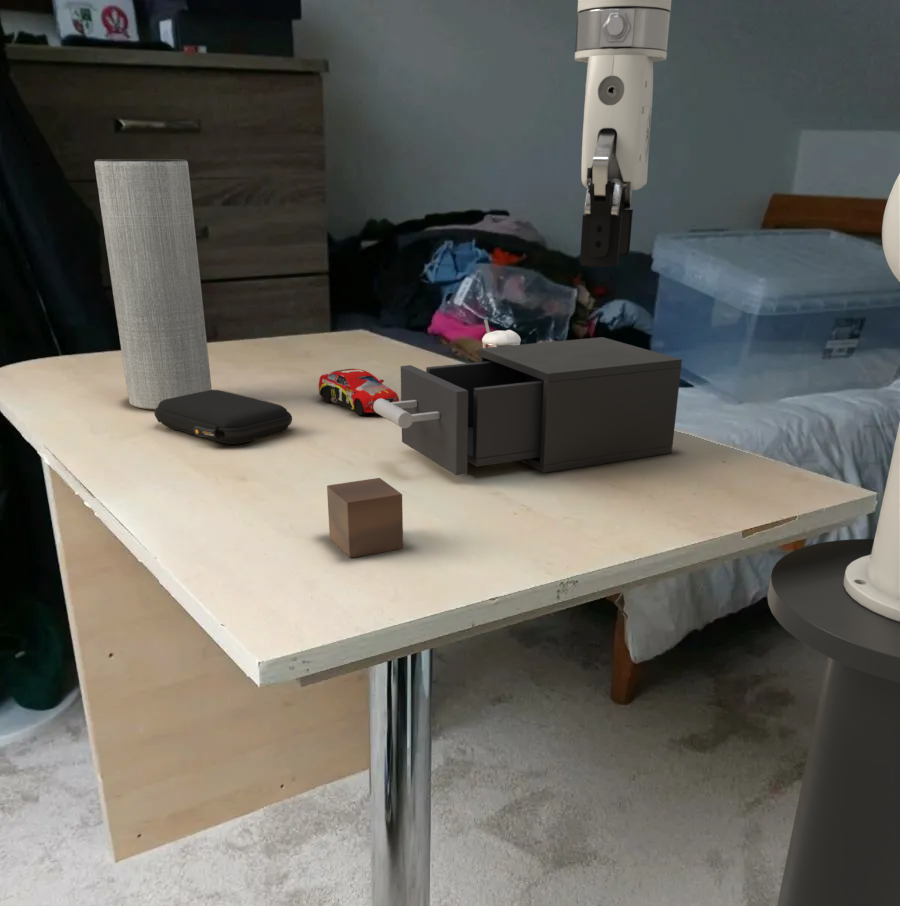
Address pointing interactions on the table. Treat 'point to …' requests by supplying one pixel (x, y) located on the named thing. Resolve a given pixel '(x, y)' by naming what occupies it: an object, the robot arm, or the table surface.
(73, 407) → the table surface
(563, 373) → the cabinet
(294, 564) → the table surface
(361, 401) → the race car
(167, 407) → the carrying case
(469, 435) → the drawer
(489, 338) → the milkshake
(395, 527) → the block
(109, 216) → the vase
